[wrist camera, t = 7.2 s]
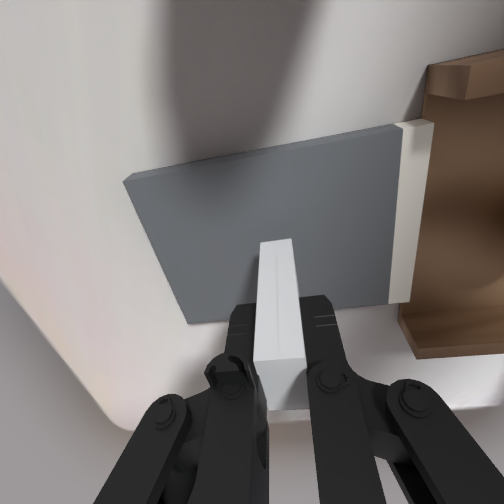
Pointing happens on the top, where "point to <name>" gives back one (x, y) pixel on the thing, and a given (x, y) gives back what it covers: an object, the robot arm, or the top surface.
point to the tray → (461, 215)
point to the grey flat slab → (291, 218)
